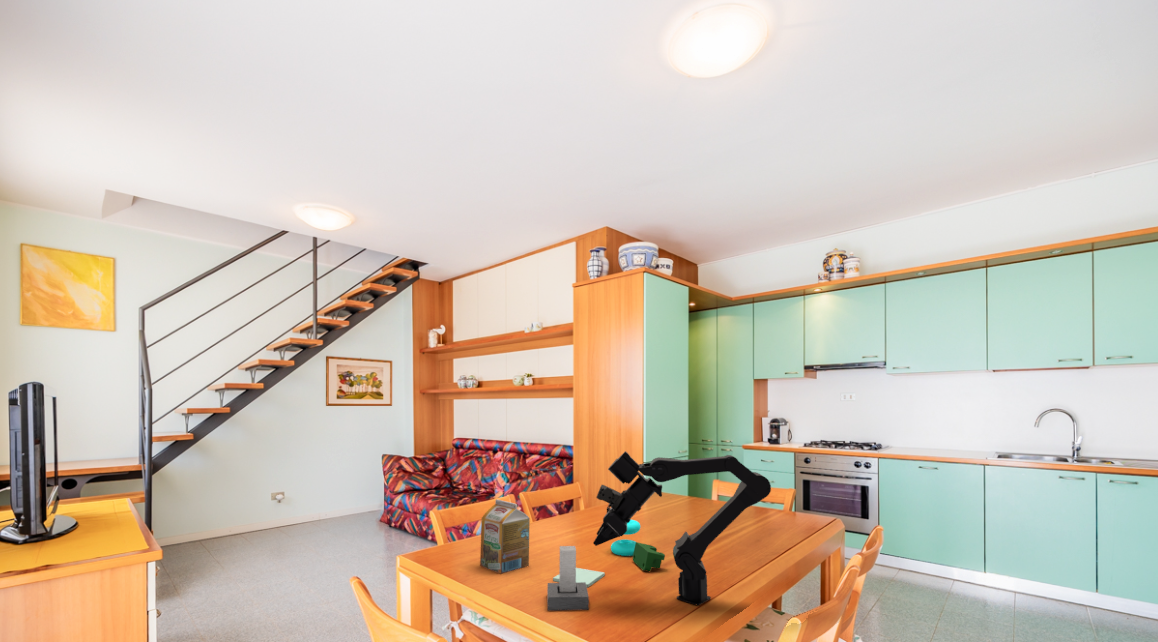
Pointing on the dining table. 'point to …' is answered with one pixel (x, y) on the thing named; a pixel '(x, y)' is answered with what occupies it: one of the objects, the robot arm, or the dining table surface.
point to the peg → (567, 569)
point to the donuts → (626, 541)
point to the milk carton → (504, 538)
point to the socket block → (567, 598)
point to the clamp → (647, 556)
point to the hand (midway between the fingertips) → (596, 539)
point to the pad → (585, 576)
